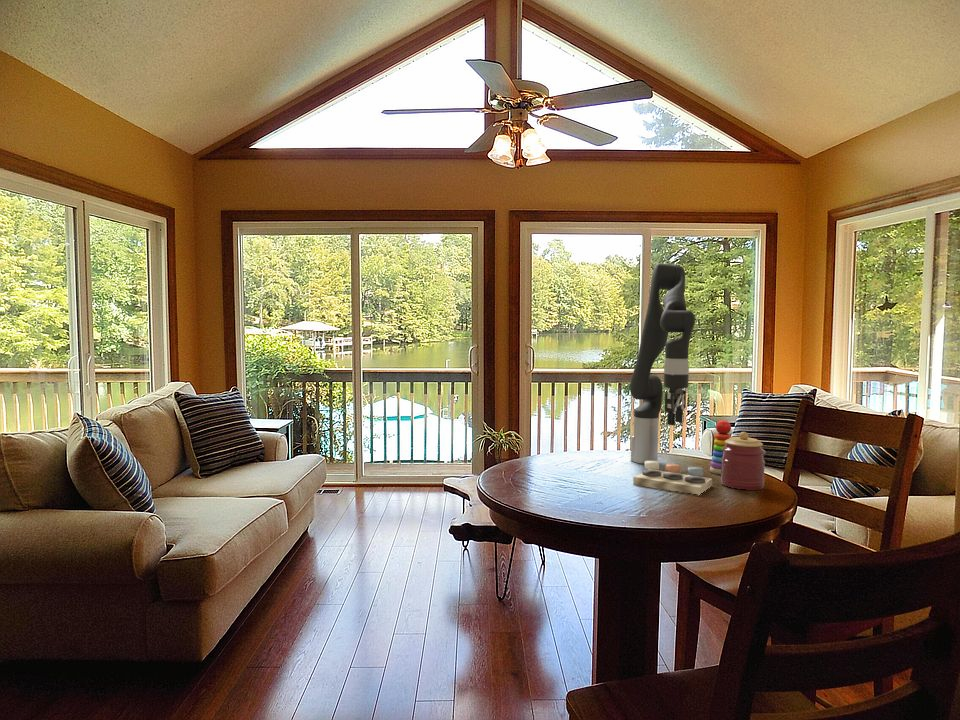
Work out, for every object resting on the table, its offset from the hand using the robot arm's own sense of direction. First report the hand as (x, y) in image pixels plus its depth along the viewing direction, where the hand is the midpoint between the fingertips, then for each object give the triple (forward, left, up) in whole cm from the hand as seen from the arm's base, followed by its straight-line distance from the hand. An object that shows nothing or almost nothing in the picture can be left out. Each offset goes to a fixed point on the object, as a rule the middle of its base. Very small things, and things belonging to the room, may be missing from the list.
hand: (675, 423), depth 189 cm
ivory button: (-7, 0, -16) cm, 17 cm away
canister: (+18, +14, -20) cm, 30 cm away
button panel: (0, 0, -20) cm, 20 cm away
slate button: (+7, 0, -16) cm, 17 cm away
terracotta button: (0, 0, -16) cm, 16 cm away
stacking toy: (+8, +29, -20) cm, 36 cm away
